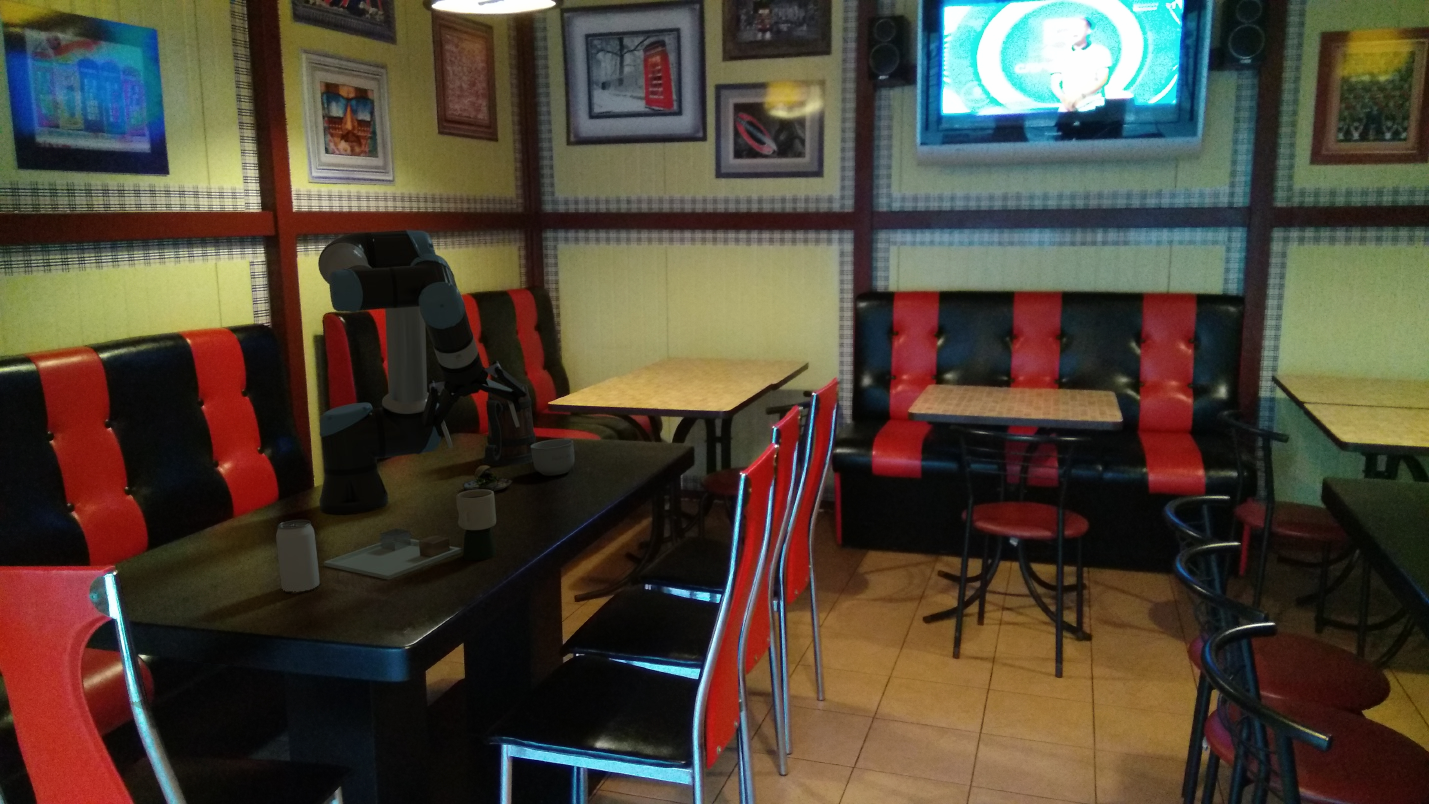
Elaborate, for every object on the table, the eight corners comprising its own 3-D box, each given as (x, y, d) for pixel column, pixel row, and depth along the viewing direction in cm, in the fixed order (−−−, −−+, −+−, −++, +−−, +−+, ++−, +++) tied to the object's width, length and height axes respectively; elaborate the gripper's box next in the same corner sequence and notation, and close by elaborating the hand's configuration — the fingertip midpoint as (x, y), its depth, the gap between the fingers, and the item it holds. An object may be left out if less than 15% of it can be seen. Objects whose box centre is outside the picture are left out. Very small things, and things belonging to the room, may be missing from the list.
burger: (478, 499, 258) (475, 468, 257) (453, 491, 267) (451, 461, 266) (522, 489, 266) (520, 459, 265) (497, 481, 275) (495, 452, 274)
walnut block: (420, 555, 213) (418, 540, 213) (435, 550, 217) (434, 535, 216) (434, 558, 211) (433, 543, 211) (450, 552, 214) (448, 538, 214)
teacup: (556, 480, 273) (554, 448, 272) (523, 476, 279) (521, 445, 277) (591, 467, 285) (589, 437, 283) (559, 464, 290) (557, 434, 289)
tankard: (496, 451, 309) (491, 380, 306) (553, 451, 306) (548, 380, 302) (460, 471, 287) (453, 395, 283) (521, 471, 283) (515, 395, 280)
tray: (324, 569, 210) (323, 561, 210) (398, 543, 225) (397, 536, 224) (388, 583, 200) (388, 575, 200) (461, 555, 215) (461, 548, 215)
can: (307, 594, 196) (300, 529, 194) (274, 593, 197) (267, 528, 195) (326, 582, 202) (320, 519, 200) (295, 581, 203) (288, 518, 201)
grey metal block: (381, 548, 219) (380, 533, 219) (397, 542, 222) (395, 528, 222) (395, 550, 217) (393, 536, 216) (410, 545, 220) (409, 530, 220)
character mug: (476, 550, 218) (471, 486, 216) (509, 551, 216) (504, 487, 214) (449, 567, 208) (444, 500, 206) (484, 569, 206) (479, 501, 204)
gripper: (395, 390, 200) (425, 465, 215) (528, 349, 205) (548, 426, 220) (388, 363, 205) (418, 439, 220) (518, 324, 210) (538, 401, 225)
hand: (483, 433), depth 220 cm, fingers open, 13 cm apart
